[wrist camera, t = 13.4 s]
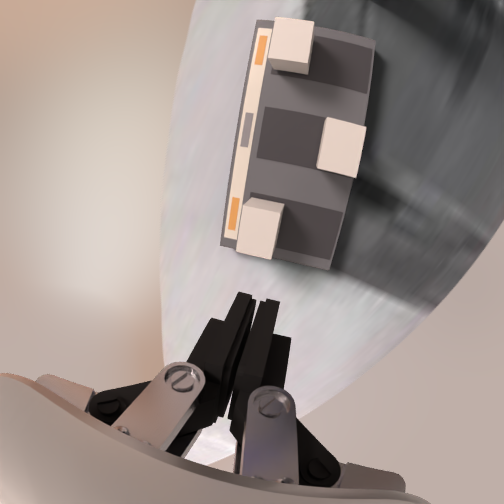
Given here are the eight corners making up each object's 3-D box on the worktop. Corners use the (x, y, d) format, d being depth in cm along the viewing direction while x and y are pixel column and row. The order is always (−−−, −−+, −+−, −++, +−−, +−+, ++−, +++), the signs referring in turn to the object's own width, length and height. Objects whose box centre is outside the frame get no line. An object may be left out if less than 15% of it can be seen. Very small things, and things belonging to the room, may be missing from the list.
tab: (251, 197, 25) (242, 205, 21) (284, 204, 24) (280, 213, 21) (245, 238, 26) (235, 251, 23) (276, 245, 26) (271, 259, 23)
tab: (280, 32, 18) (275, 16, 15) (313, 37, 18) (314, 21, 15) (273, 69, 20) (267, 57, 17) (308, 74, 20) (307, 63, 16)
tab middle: (324, 121, 21) (327, 116, 18) (358, 129, 20) (366, 127, 17) (316, 165, 22) (317, 168, 19) (349, 173, 22) (356, 178, 19)
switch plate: (260, 27, 20) (256, 19, 18) (371, 47, 19) (375, 40, 17) (225, 238, 29) (219, 245, 27) (327, 262, 28) (328, 270, 26)
